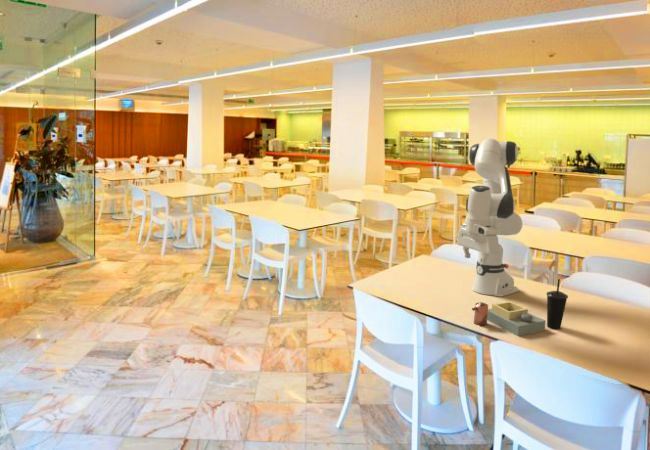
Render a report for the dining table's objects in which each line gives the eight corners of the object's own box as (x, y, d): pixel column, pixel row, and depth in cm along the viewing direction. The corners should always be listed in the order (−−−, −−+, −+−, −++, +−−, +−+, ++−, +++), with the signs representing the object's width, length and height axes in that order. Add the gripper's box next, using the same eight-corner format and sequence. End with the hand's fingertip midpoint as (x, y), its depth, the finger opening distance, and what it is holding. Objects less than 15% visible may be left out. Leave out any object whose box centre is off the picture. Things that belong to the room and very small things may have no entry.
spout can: (480, 320, 197) (482, 300, 195) (489, 324, 192) (491, 304, 191) (467, 322, 194) (469, 302, 192) (475, 327, 190) (477, 307, 188)
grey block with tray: (510, 313, 204) (511, 298, 202) (544, 330, 188) (546, 313, 186) (484, 318, 198) (486, 302, 197) (517, 336, 182) (519, 318, 181)
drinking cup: (539, 323, 194) (544, 276, 190) (557, 322, 195) (562, 276, 191) (549, 331, 187) (555, 282, 183) (568, 330, 187) (574, 282, 183)
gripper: (454, 223, 199) (452, 255, 201) (489, 231, 180) (486, 267, 182) (466, 222, 201) (464, 254, 203) (502, 230, 183) (499, 265, 185)
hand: (475, 260), depth 193 cm, fingers open, 8 cm apart
